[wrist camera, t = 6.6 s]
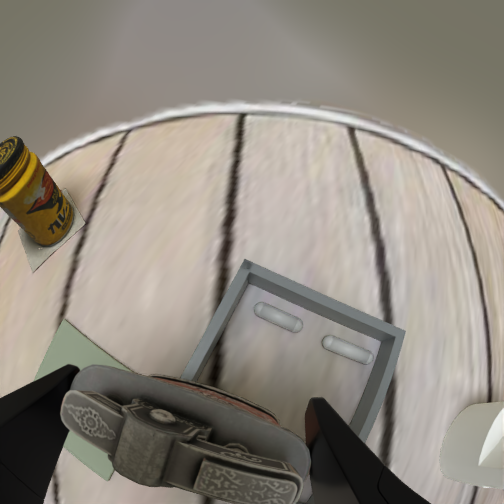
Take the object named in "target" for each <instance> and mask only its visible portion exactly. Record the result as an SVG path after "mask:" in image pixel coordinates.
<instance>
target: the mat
mask: <svg viewBox="0 0 504 504" xmlns="http://www.w3.org/2000/svg"><path fill="white" fill-rule="evenodd" d="M67 364H72V365H75V366H78V367H79V369H80V371H81V370H82V369H83V368H84V367H87V366H90V365H92V364H97V365H106V366H111V367H115V368H118V369H122V370H125V371H129V372H133V371H131V370H130V369H128V368H127V367H125V366H124V365H122V364H121V363H120V362H118V361H117V360H115V359H114V358H113V357H111V356H110V355H109V354H107V353H106V352H105V351H103V350H102V349H101V348H99V347H98V346H97V345H96V344H94V343H93V342H92V341H90V340H89V339H88V338H87V337H86V336H84V335H83V334H82V333H81V332H79V331H78V330H77V329H76V328H75V327H74V326H72V325H71V324H70V323H69V322H68V321H67V320H65V319H63V321H62V323H61V325H60V327H59V329H58V330H57V332H56V334H55V336H54V338H53V340H52V342H51V344H50V346H49V348H48V350H47V353H46V355H45V357H44V359H43V361H42V363H41V366H40V368H39V370H38V372H37V375H36V377H35V379H34V381H35V380H37V379H39V378H41V377H43V376H45V375H47V374H49V373H51V372H53V371H55V370H57V369H59V368H61V367H63V366H65V365H67ZM133 373H134V372H133ZM63 447H64V448H66V449H67V450H68V451H69V452H70V453H71V454H72V455H74V456H75V457H76V458H77V459H78V460H80V461H81V462H82V463H83V464H85V465H86V466H87V467H88V468H90V469H91V470H92V471H94V472H95V473H96V474H98V475H99V476H100V477H102V478H103V479H104V480H106V481H109V480H110V478H111V476H112V474H113V472H114V468H113V467H112V462H111V461H110V460H109V459H108V454H107V453H105V452H103V451H102V450H100V449H98V448H97V447H95V446H93V445H92V444H90V443H88V442H87V441H85V440H84V439H82V438H81V437H79V436H78V435H76V434H75V433H73V432H72V431H69V433H68V436H67V438H66V441H65V443H64V446H63Z"/></svg>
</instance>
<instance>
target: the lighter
mask: <svg viewBox="0 0 504 504" xmlns="http://www.w3.org/2000/svg"><path fill="white" fill-rule="evenodd" d="M60 414H61V419H62V421H63V423H64V425H65V426H66V427H67V428H68V429H69V430H70V431H72V432H73V433H75V434H76V435H78V436H79V437H81V438H82V439H84V440H85V441H87V442H88V443H90V444H92V445H93V446H95V447H97V448H98V449H100V450H102V451H103V452H105V453H107V454H108V459H109V460H110V461H111V462H112V467H113V468H114V470H116V471H117V472H118V473H119V474H120V475H122V476H124V477H126V478H128V479H130V480H132V481H134V482H136V483H138V484H141V485H145V486H149V487H161V486H162V487H170V488H171V487H176V488H180V489H183V490H186V491H190V492H193V493H197V494H201V495H205V496H208V497H211V498H215V499H218V500H222V501H226V502H230V503H234V504H296V503H297V501H298V500H299V498H300V495H301V493H302V490H303V485H304V482H305V480H306V478H307V476H308V475H309V470H310V465H311V459H310V453H309V449H308V448H307V446H306V445H305V443H304V442H303V440H302V439H301V438H299V437H298V436H297V435H296V434H294V433H293V432H291V431H290V430H288V429H286V428H283V427H281V426H280V422H279V420H278V419H277V417H276V416H275V415H274V414H273V413H272V412H270V411H269V410H267V409H265V408H263V407H261V406H259V405H257V404H254V403H252V402H250V401H248V400H246V399H244V398H242V397H239V396H236V395H234V394H231V393H228V392H226V391H223V390H221V389H218V388H215V387H212V386H208V385H204V384H201V383H197V382H194V381H190V380H186V379H180V378H175V377H170V376H165V375H159V374H151V375H149V376H145V375H141V374H137V373H133V372H129V371H125V370H122V369H118V368H115V367H111V366H106V365H97V364H92V365H90V366H87V367H84V368H83V369H82V370H81V371H80V372H79V373H78V374H77V375H76V376H75V378H74V380H73V382H72V384H71V388H70V391H68V392H67V393H66V394H65V397H64V399H63V402H62V405H61V412H60Z"/></svg>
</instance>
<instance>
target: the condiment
mask: <svg viewBox="0 0 504 504" xmlns="http://www.w3.org/2000/svg"><path fill="white" fill-rule="evenodd" d="M0 207H1V208H2V209H3V210H4V211H5V212H6V213H7V214H8V215H9V216H10V217H11V218H12V219H13V220H14V221H15V222H16V223H17V224H18V225H19V226H20V227H21V229H20V230H19V231H18V233H19V235H20V238H21V241H22V244H23V247H24V250H25V253H26V254H27V258H28V261H29V264H30V267H31V270H32V272H34V271H35V270H36V269H37V268H38V267H39V266H40V265H41V264H42V263H43V262H44V261H45V260H46V259H47V258H48V257H49V256H50V255H51V254H52V253H53V252H54V251H56V250H57V249H58V248H59V247H60V246H62V245H63V244H64V243H65V242H66V241H67V240H68V239H69V238H70V237H71V236H73V235H74V234H75V233H76V232H77V231H78V230H79V229H81V228H82V227H83V226H84V224H85V221H84V220H83V218H82V216H81V215H80V213H79V211H78V209H77V208H76V206H75V204H74V202H73V201H72V199H71V197H70V195H69V194H68V192H67V190H66V188H65V189H64V190H63V191H62V192H61V190H60V189H59V188H58V186H57V185H56V183H55V182H54V181H53V179H52V178H51V177H50V175H49V174H48V172H47V171H46V169H45V168H44V167H43V165H42V164H41V162H40V160H39V158H38V157H37V156H36V155H35V154H34V153H32V152H29V150H28V148H27V147H26V146H25V145H24V143H23V141H22V139H21V138H19V137H16V136H13V137H10V138H8V139H6V140H5V141H3V142H2V143H1V144H0ZM38 248H43V249H38Z"/></svg>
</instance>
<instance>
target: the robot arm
mask: <svg viewBox="0 0 504 504" xmlns="http://www.w3.org/2000/svg"><path fill="white" fill-rule="evenodd" d="M79 372H80V369H79V367H78V366H75V365H72V364H67V365H65V366H63V367H61V368H59V369H57V370H55V371H53V372H51V373H49V374H47V375H45V376H43V377H41V378H39V379H37V380H35V381H33V382H31V383H30V384H28V385H26V386H24V387H22V388H20V389H18V390H16V391H14V392H12V393H10V394H8V395H6V396H4V397H2V398H0V504H43V503H44V499H45V496H46V493H47V489H48V486H49V483H50V481H51V478H52V475H53V472H54V469H55V466H56V464H57V461H58V458H59V456H60V453H61V451H62V448H63V446H64V443H65V441H66V438H67V436H68V433H69V431H70V430H69V429H68V428H67V427H66V426H65V425H64V423H63V421H62V419H61V414H60V412H61V405H62V402H63V399H64V397H65V394H66V393H67V392H68V391H70V388H71V384H72V382H73V380H74V378H75V376H76V375H77V374H78V373H79ZM305 431H306V446H307V448H308V449H309V453H310V459H311V465H310V470H309V474H310V480H311V486H312V492H313V498H314V504H431V503H429V502H428V501H427V500H425V499H424V498H422V497H421V496H420V495H418V494H417V493H416V492H414V491H413V490H412V489H411V488H409V487H408V486H407V485H406V484H404V483H403V482H402V481H401V480H400V479H399V478H398V477H397V476H396V475H395V474H394V473H392V472H391V470H390V469H389V468H388V467H387V466H384V463H383V462H382V461H381V460H380V459H379V458H378V457H377V456H376V455H375V454H374V453H373V452H372V451H371V450H370V449H369V448H368V446H367V445H366V444H365V443H364V442H363V441H362V440H361V439H360V438H359V437H358V436H357V435H356V433H355V432H354V431H353V430H352V429H351V428H350V427H349V426H348V425H347V424H346V422H345V421H344V420H343V419H342V418H341V417H340V416H339V415H338V414H337V412H336V411H335V410H334V409H333V408H332V407H331V406H330V405H329V403H328V402H327V401H326V400H325V399H324V398H322V397H316V398H311V399H310V401H309V404H308V407H307V410H306V413H305Z"/></svg>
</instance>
